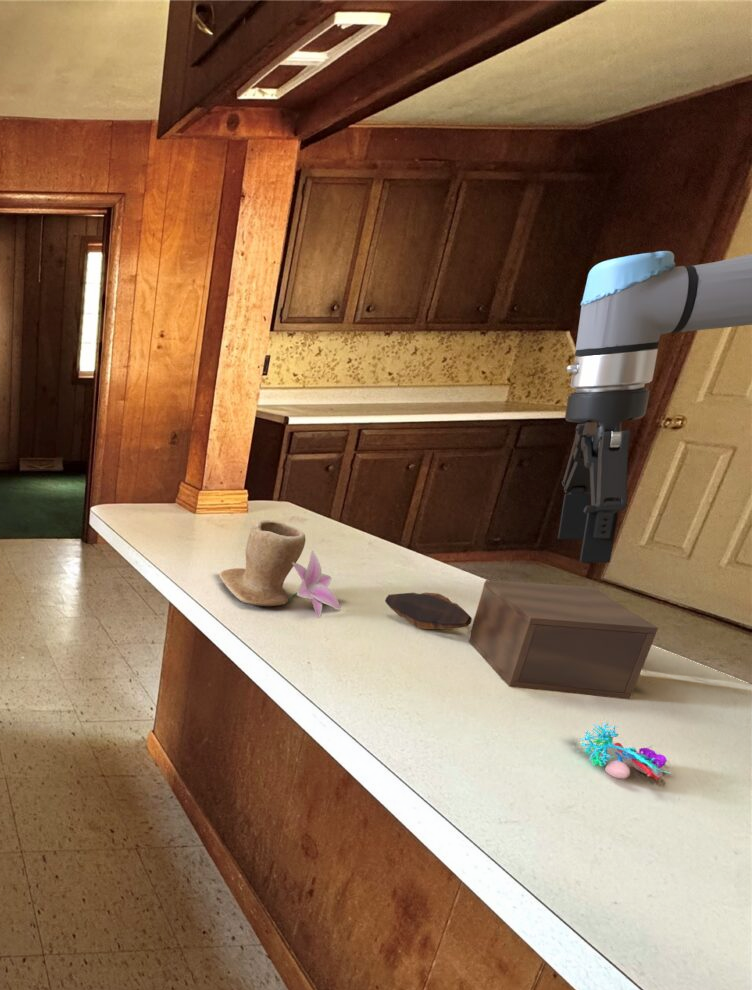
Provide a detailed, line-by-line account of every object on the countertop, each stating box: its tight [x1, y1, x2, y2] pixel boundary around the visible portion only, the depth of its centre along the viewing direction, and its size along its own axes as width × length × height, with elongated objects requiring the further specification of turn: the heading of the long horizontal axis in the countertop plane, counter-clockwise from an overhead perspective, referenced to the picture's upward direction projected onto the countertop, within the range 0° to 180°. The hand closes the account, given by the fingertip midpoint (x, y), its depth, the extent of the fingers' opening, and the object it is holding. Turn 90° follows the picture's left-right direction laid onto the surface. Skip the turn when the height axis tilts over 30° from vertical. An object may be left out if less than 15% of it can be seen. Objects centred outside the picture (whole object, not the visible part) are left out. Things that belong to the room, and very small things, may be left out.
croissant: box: [384, 592, 473, 630], centre depth 114 cm, size 14×7×5 cm
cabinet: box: [468, 579, 659, 700], centre depth 98 cm, size 16×14×11 cm
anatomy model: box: [579, 722, 670, 781], centre depth 75 cm, size 5×8×7 cm
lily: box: [288, 550, 342, 618], centre depth 123 cm, size 12×12×10 cm
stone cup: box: [218, 519, 306, 607], centre depth 127 cm, size 15×12×15 cm
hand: (581, 549), depth 91 cm, fingers open, 13 cm apart
